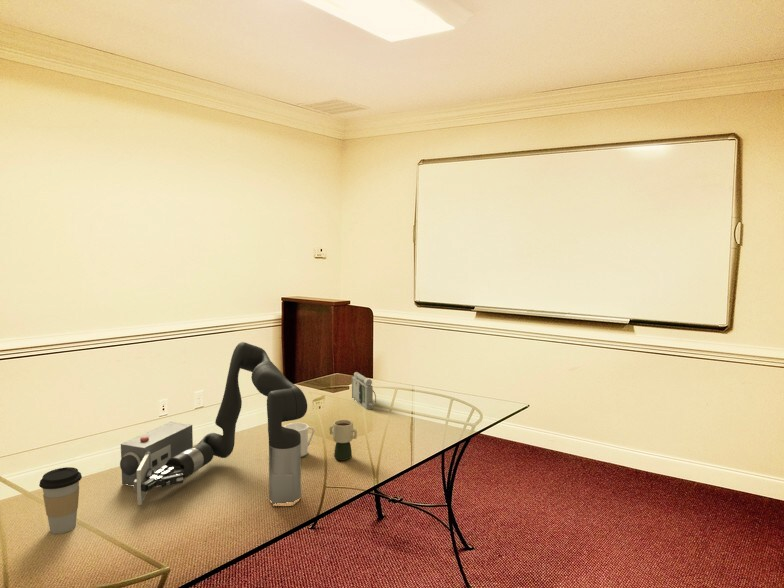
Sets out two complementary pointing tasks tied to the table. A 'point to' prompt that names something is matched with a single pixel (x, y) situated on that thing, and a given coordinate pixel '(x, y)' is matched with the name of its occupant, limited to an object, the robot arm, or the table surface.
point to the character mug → (343, 438)
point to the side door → (142, 477)
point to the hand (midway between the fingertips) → (143, 488)
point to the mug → (302, 435)
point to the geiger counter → (362, 391)
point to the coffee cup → (61, 498)
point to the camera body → (154, 448)
